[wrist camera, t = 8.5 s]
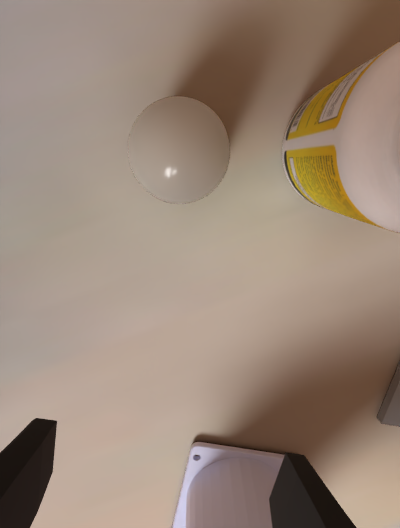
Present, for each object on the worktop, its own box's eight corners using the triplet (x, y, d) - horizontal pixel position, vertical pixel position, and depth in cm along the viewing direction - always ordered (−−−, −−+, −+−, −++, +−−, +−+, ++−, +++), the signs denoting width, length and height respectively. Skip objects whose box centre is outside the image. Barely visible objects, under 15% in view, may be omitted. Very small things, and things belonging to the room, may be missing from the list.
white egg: (212, 201, 18) (217, 212, 14) (140, 186, 18) (121, 193, 13) (227, 125, 17) (240, 108, 13) (152, 108, 17) (135, 85, 12)
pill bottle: (383, 208, 19) (623, 269, 8) (274, 205, 19) (373, 263, 8) (407, 86, 17) (755, -41, 6) (285, 81, 17) (433, -54, 6)
